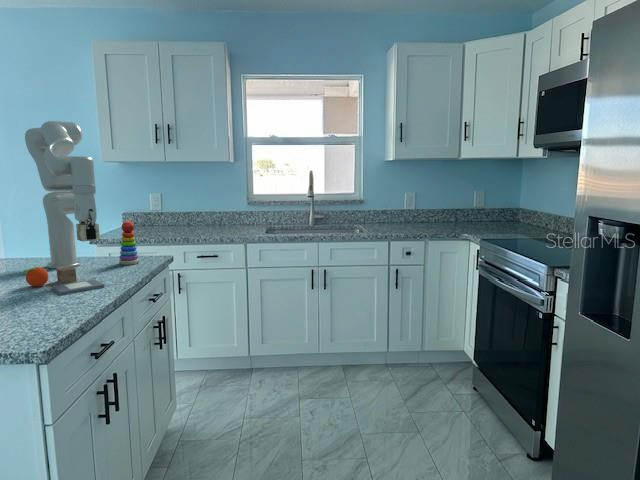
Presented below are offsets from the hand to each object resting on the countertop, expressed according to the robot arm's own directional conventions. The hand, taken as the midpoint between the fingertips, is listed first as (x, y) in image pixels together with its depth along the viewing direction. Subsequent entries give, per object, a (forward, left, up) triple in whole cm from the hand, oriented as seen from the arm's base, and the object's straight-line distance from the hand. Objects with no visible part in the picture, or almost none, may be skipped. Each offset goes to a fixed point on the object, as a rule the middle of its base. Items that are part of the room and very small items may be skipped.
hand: (88, 237), depth 166 cm
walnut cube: (-2, -8, -16) cm, 18 cm away
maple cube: (0, 0, -1) cm, 1 cm away
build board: (+11, -8, -16) cm, 21 cm away
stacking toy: (-17, +21, -16) cm, 31 cm away
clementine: (-1, -18, -16) cm, 24 cm away
